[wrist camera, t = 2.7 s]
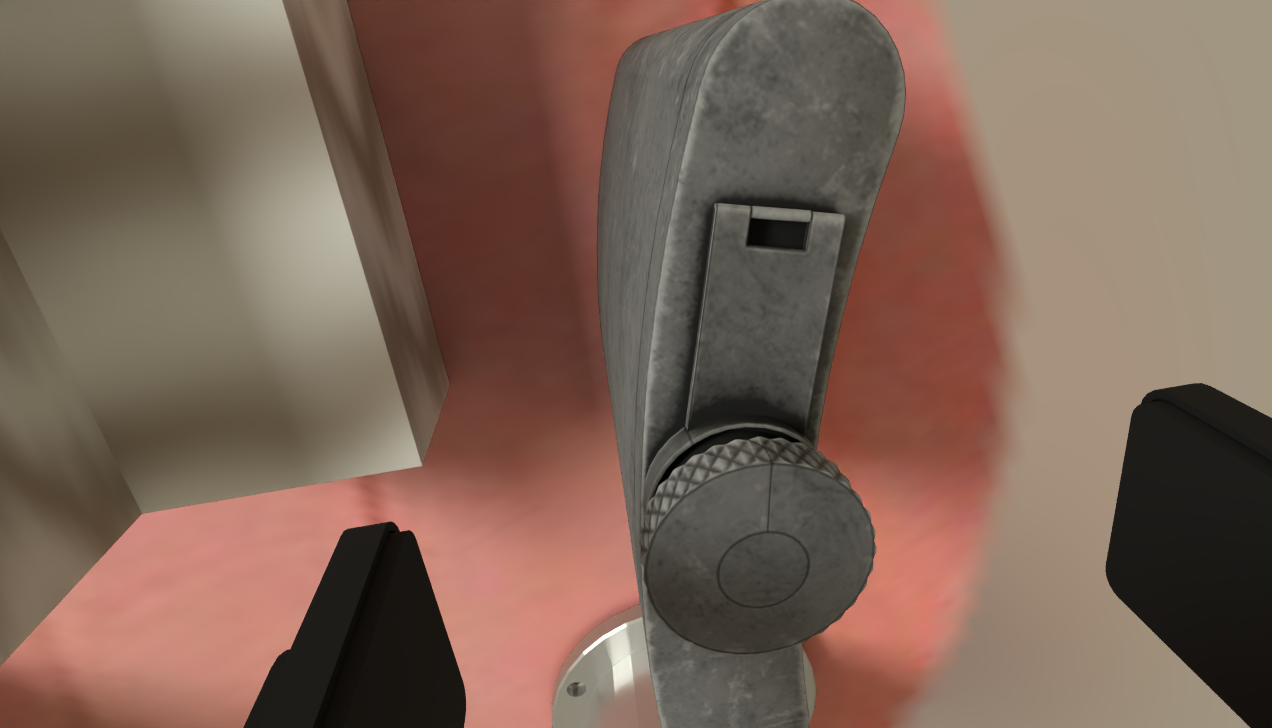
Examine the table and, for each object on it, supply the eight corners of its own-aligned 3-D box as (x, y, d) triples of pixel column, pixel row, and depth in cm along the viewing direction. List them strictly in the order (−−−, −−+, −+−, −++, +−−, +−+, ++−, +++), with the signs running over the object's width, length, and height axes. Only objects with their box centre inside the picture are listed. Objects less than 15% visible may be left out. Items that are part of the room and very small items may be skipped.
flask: (592, 426, 29) (634, 916, 12) (590, 32, 23) (662, -40, 7) (682, 423, 29) (841, 896, 13) (701, 36, 24) (1030, -27, 7)
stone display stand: (450, 385, 27) (352, 668, 15) (186, 429, 27) (-150, 758, 14) (273, -273, 20) (-281, -918, 7) (-102, -223, 19) (-1441, -799, 6)
